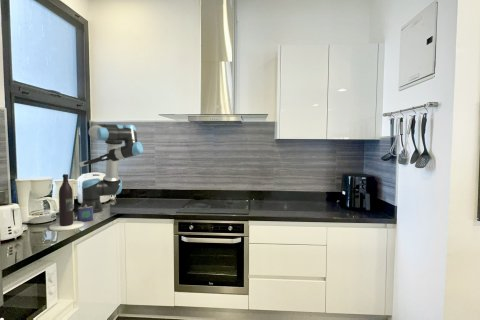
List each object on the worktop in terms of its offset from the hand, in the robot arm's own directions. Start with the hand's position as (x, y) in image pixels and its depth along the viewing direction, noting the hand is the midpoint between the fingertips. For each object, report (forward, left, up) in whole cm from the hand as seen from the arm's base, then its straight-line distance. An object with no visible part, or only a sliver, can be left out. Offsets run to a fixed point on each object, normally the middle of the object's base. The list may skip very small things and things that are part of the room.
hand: (86, 162), depth 188 cm
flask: (-4, -2, -38) cm, 38 cm away
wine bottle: (+8, -10, -37) cm, 39 cm away
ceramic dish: (+8, -9, -38) cm, 40 cm away
